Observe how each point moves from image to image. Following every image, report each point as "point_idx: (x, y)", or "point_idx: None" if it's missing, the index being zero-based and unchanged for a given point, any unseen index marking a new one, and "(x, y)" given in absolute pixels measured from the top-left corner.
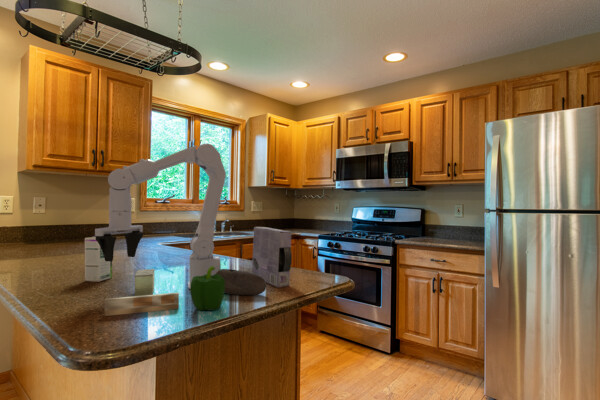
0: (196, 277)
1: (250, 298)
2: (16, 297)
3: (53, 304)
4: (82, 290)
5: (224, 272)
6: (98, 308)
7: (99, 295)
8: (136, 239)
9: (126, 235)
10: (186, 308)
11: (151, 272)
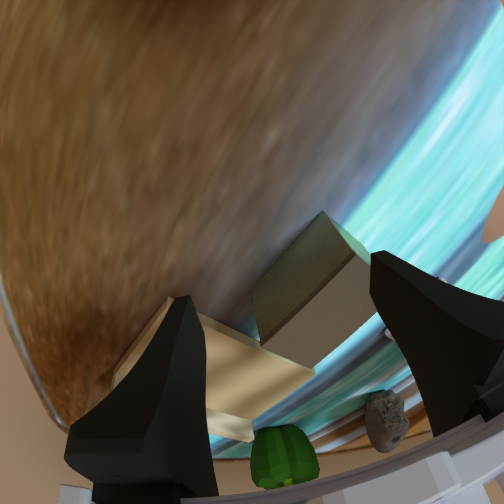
0: (273, 480)
1: (355, 427)
2: None
3: (29, 163)
4: (181, 11)
5: (382, 437)
6: (118, 313)
7: (180, 164)
8: (425, 404)
9: (474, 358)
10: (255, 420)
11: (334, 343)
